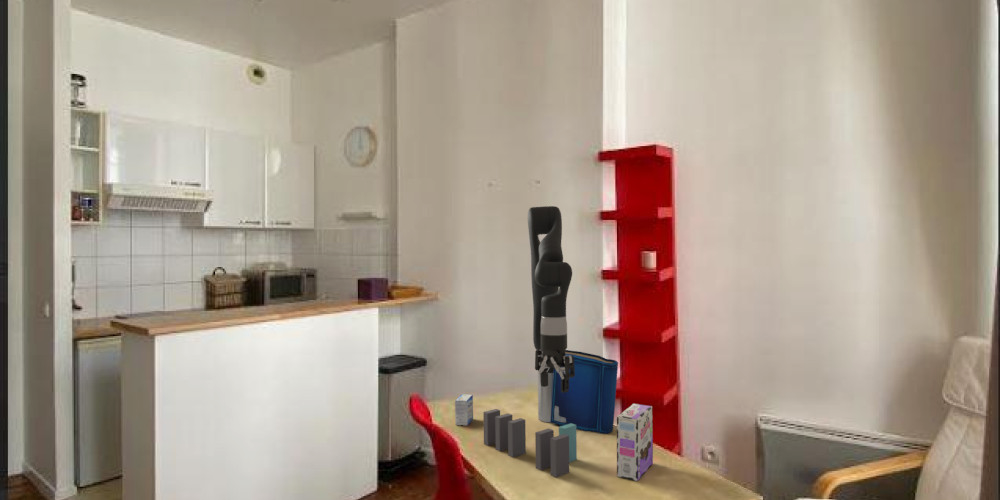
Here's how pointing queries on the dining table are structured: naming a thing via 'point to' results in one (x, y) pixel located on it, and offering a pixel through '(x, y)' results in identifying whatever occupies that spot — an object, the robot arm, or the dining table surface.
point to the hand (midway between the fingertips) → (554, 389)
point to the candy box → (634, 441)
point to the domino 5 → (570, 439)
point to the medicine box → (464, 410)
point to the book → (586, 394)
